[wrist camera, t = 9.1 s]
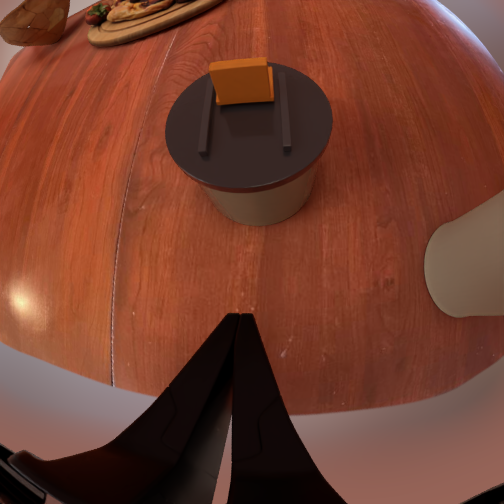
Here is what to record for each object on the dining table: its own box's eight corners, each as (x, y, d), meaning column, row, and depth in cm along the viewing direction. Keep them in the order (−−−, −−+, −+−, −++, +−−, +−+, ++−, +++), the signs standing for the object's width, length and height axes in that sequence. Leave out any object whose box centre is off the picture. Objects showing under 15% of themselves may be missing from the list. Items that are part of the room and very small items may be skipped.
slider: (274, 101, 15) (270, 64, 12) (217, 105, 15) (204, 71, 12) (272, 70, 16) (269, 35, 12) (220, 74, 16) (210, 41, 13)
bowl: (57, 29, 43) (30, -6, 24) (101, 9, 40) (73, -36, 21) (19, 75, 40) (-17, 40, 20) (57, 56, 37) (16, 8, 17)
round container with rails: (323, 229, 22) (346, 182, 13) (197, 232, 24) (149, 190, 15) (313, 125, 25) (320, 54, 15) (206, 131, 26) (176, 66, 17)
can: (482, 324, 19) (569, 325, 7) (414, 306, 20) (508, 301, 9) (492, 237, 20) (569, 202, 8) (429, 209, 22) (504, 149, 10)
